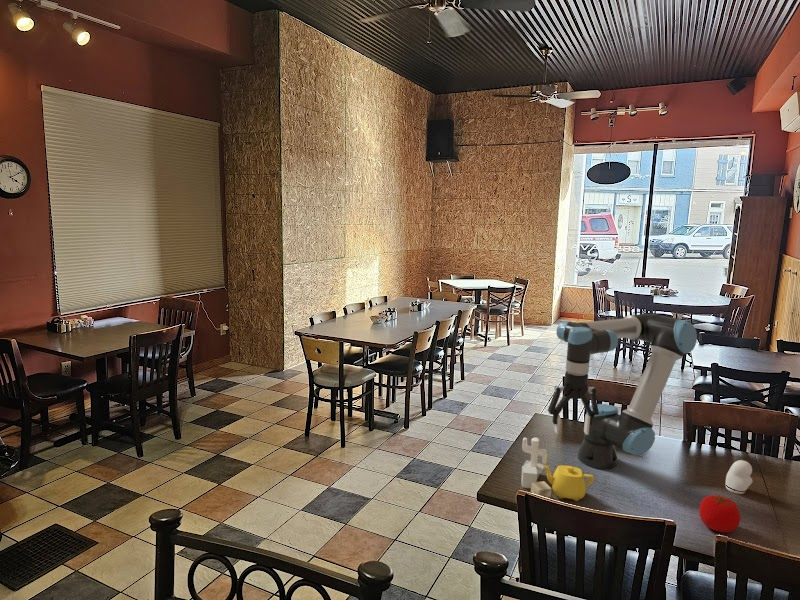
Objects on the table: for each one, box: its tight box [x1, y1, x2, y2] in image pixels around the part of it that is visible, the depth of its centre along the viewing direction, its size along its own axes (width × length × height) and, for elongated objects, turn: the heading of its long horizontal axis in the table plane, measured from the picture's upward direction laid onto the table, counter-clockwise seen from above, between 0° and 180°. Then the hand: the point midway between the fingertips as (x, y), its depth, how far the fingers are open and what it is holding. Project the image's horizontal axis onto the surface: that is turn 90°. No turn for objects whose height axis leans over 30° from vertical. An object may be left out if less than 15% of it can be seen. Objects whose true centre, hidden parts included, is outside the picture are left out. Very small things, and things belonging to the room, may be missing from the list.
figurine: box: [521, 436, 548, 480], centre depth 201 cm, size 7×9×15 cm
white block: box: [520, 465, 538, 489], centre depth 195 cm, size 5×5×6 cm
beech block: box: [530, 480, 552, 498], centre depth 186 cm, size 5×5×5 cm
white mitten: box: [725, 459, 753, 495], centre depth 194 cm, size 7×8×12 cm
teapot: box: [543, 464, 595, 502], centre depth 189 cm, size 18×11×11 cm, turn 75°
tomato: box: [699, 494, 741, 534], centre depth 171 cm, size 11×12×10 cm
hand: (571, 432), depth 185 cm, fingers open, 10 cm apart
